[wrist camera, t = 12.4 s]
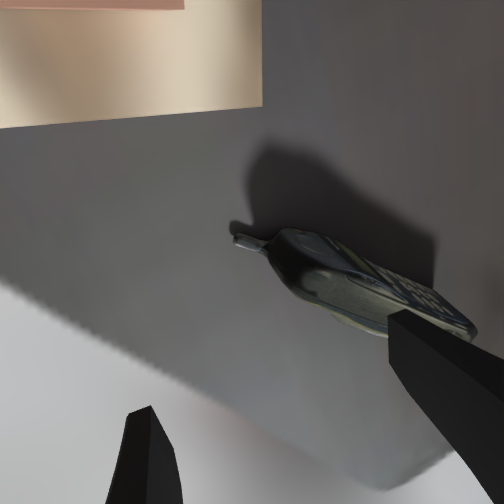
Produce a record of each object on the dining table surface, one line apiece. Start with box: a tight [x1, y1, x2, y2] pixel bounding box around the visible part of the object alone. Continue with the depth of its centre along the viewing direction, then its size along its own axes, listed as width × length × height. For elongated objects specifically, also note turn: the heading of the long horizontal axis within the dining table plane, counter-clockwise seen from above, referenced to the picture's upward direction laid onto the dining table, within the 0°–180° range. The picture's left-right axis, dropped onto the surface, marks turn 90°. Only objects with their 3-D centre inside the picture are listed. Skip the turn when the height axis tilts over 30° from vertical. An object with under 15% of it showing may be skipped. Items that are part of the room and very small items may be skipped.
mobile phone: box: [233, 228, 478, 343], centre depth 23 cm, size 5×3×15 cm
